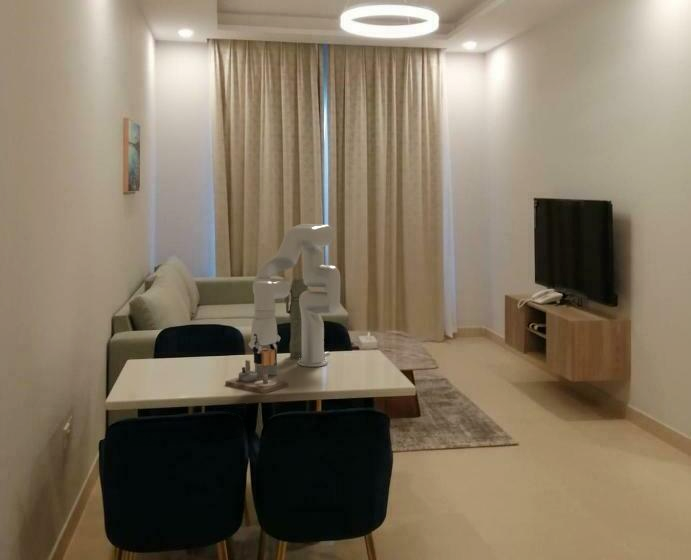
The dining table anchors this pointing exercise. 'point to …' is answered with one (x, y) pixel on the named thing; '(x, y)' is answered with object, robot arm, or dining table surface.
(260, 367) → the skincare box
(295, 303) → the thermos
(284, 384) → the gear board
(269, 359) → the loose gear
